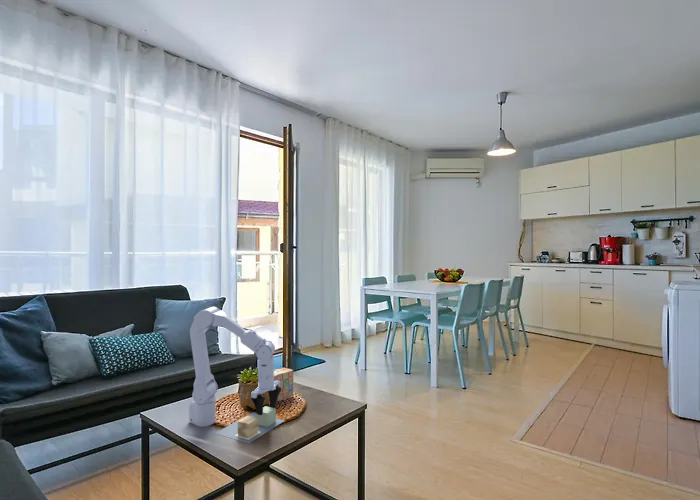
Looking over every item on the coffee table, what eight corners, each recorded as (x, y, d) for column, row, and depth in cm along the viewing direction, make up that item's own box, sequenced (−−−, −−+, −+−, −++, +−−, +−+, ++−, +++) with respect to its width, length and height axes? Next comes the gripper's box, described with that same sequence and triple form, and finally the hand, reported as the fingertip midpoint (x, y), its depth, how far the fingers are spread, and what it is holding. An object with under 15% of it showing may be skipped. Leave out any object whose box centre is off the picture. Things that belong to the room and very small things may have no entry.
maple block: (237, 435, 140) (237, 421, 140) (247, 429, 145) (247, 415, 145) (248, 438, 138) (248, 424, 138) (258, 432, 142) (258, 418, 142)
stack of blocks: (255, 412, 162) (254, 382, 162) (245, 408, 166) (245, 379, 166) (293, 396, 179) (293, 369, 179) (284, 393, 183) (284, 366, 183)
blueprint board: (214, 435, 142) (214, 432, 142) (252, 414, 160) (252, 412, 160) (249, 445, 135) (249, 443, 135) (285, 422, 152) (285, 420, 152)
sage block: (256, 424, 149) (256, 410, 149) (265, 419, 154) (265, 406, 153) (267, 426, 147) (267, 413, 147) (275, 421, 151) (275, 408, 151)
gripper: (261, 382, 142) (261, 420, 142) (286, 370, 155) (286, 405, 155) (246, 379, 145) (246, 416, 145) (271, 368, 158) (272, 402, 158)
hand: (266, 410), depth 150 cm, fingers open, 7 cm apart
